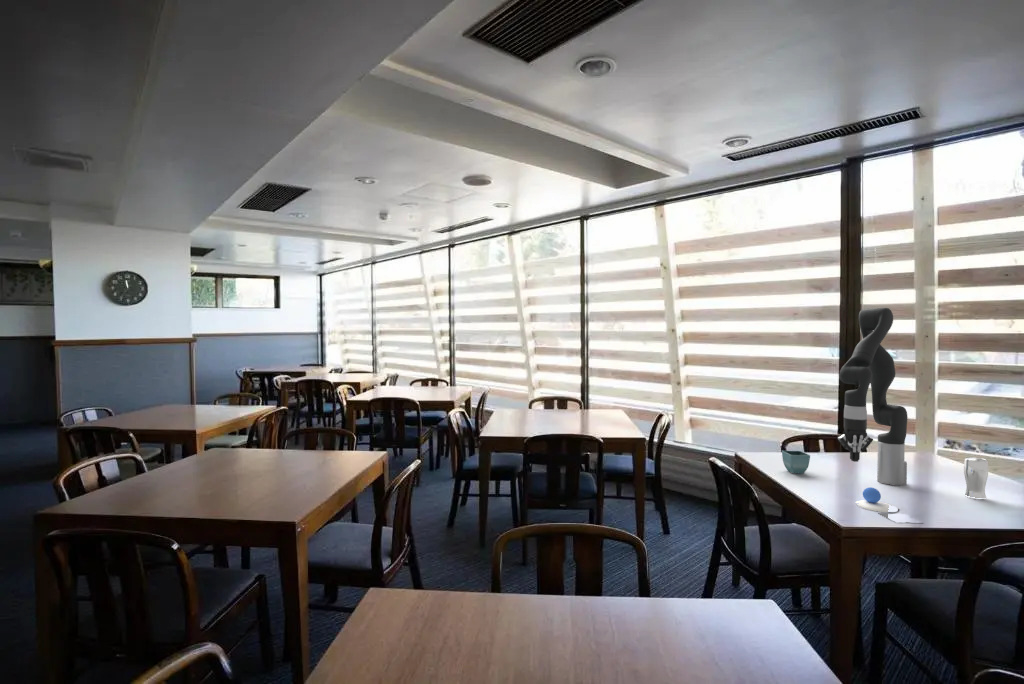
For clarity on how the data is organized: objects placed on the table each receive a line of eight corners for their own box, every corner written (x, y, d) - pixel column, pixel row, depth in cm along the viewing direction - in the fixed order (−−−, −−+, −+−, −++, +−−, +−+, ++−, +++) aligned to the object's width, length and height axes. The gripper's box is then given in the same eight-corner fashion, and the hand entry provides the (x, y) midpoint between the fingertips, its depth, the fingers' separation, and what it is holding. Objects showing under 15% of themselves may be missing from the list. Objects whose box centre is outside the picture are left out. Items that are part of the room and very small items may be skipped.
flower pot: (810, 475, 228) (810, 455, 228) (790, 474, 228) (791, 455, 228) (800, 469, 237) (800, 450, 237) (781, 469, 237) (781, 450, 237)
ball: (886, 491, 188) (882, 505, 189) (873, 484, 194) (869, 498, 195) (873, 491, 187) (870, 505, 188) (860, 484, 192) (857, 498, 194)
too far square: (904, 514, 179) (904, 513, 179) (923, 523, 170) (923, 522, 170) (877, 513, 179) (877, 513, 179) (896, 523, 170) (896, 522, 170)
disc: (882, 500, 193) (882, 500, 193) (907, 513, 180) (907, 512, 180) (847, 500, 193) (847, 500, 193) (870, 512, 180) (870, 512, 180)
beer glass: (984, 501, 192) (985, 462, 191) (960, 496, 197) (961, 458, 197) (990, 498, 195) (990, 459, 195) (966, 493, 201) (967, 456, 201)
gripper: (843, 418, 195) (843, 463, 196) (879, 418, 195) (878, 463, 195) (832, 415, 203) (831, 458, 203) (866, 415, 202) (865, 459, 203)
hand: (854, 461), depth 199 cm, fingers closed
